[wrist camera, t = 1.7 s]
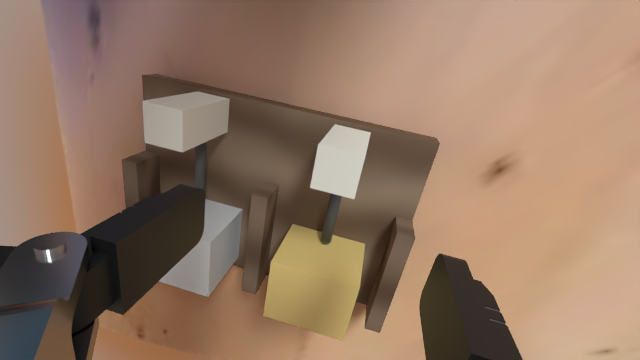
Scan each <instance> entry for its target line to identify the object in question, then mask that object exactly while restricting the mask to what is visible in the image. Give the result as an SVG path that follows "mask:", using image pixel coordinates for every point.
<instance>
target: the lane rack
mask: <svg viewBox="0 0 640 360" xmlns="http://www.w3.org/2000/svg"><path fill="white" fill-rule="evenodd" d="M142 80H143V99H144V100H150V99H156V98H162V97H168V96H174V95H180V94H186V93H192V92H202V93H207V94H211V95H215V96H220V97H224V98H228V99H230V101H229V118H228V132H227V133H225V134H222V135H220V136H218V137H216V138H214V139H211V140H209V141H207V156H206V186H205V199H207V200H211V201H215V202H218V203H222V204H225V205H229V206H233V207H236V208H240V209H243V211H242V222H241V233H240V244H239V255H238V258H237V260H236V261H235V262H234V264H233V265H236V266H239V267H243V268H244V274H243V283H242V290H243V291H246V292H249V293H253V294H256V292H257V291H258V289H259V287H260V285H261V283H262V282H263V280H264V278H265V276H266V275H269V272H270V265H271V261H272V259H273V257H274V255H275V254H276V252H277V250H278V248H279V247H280V245H281V243H282V242H283V240H284V238H285V236H286V235H287V233H288V231H289V229H290V228H291V226H292V224H295V225H299V226H302V227H306V228H310V229H313V230H317V231H321V232H322V231H323V227H324V222H325V218H326V213H327V209H328V204H329V200H330V195H331V193H328V192H324V191H320V190H316V189H312V188H310V185H311V180H312V174H313V169H314V164H315V158H316V153H317V148H318V144H319V143H320V142H321V141H322V139H323V138H324V137H325V136H326V134H327V133H328V132H329V131H330V130H331V128H332V127H333V126H334V125H335V124H336V125H341V126H345V127H349V128H354V129H358V130H362V131H367V132H371V134H370V139H369V143H368V148H367V152H366V156H365V160H364V164H363V168H362V172H361V176H360V179H359V183H358V187H357V191H356V195H355V199H351V198H347V197H343V196H342V198H341V202H340V206H339V210H338V215H337V219H336V223H335V227H334V231H333V235H335V236H339V237H342V238H346V239H350V240H353V241H357V242H360V243H364V244H365V250H364V258H363V267H362V275H361V283H360V289H359V292H358V295H357V299H356V302H359V303H362V304H366V305H367V307H366V319H365V328H366V329H369V330H372V331H375V332H378V333H380V331H381V328H382V325H383V323H384V320H385V317H386V315H387V312H388V309H389V307H390V304H391V301H392V299H393V296H394V293H395V291H396V288H397V285H398V283H399V280H400V277H401V275H402V272H403V269H404V267H405V264H406V261H407V259H408V256H409V253H410V251H411V248H412V245H413V243H414V240H415V235H414V229H413V222H412V219H413V217H414V214H415V211H416V208H417V205H418V203H419V200H420V197H421V194H422V192H423V189H424V186H425V183H426V180H427V178H428V175H429V172H430V169H431V166H432V164H433V161H434V158H435V155H436V153H437V150H438V147H439V144H440V143H439V142H438V140H437V138H434V137H429V136H425V135H420V134H416V133H412V132H407V131H403V130H398V129H394V128H390V127H385V126H381V125H377V124H372V123H368V122H363V121H359V120H355V119H350V118H346V117H341V116H337V115H333V114H328V113H324V112H320V111H315V110H311V109H306V108H302V107H298V106H293V105H289V104H284V103H280V102H276V101H271V100H267V99H263V98H258V97H254V96H249V95H245V94H241V93H236V92H232V91H227V90H223V89H219V88H214V87H210V86H206V85H201V84H197V83H192V82H188V81H184V80H179V79H175V78H170V77H166V76H162V75H157V74H153V75H142ZM122 166H123V178H124V189H125V201H126V209H127V208H128V207H130V206H131V207H133V205H134V204H136V203H137V202H139V201H141V200H143V199H145V198H147V197H150V196H154V195H157V194H161V193H165V192H166V191H168V190H170V189H172V188H173V187H175V186H177V185H179V184H186V185H189V186H193V187H194V177H195V147H194V148H191V149H189V150H187V151H185V152H179V151H175V150H171V149H167V148H163V147H160V146H156V145H152V144H148V143H146V151H144V152H141V153H138V154H136V155H133V156H130V157H128V158H125V159H122Z"/></svg>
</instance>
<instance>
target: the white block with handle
mask: <svg viewBox="0 0 640 360" xmlns="http://www.w3.org/2000/svg"><path fill="white" fill-rule="evenodd" d="M229 101H230V99H228V98H224V97H220V96H215V95H211V94H207V93H202V92H192V93H186V94H180V95H174V96H168V97H162V98H156V99H150V100H144V101H142V102H143V121H144V140H145V143H148V144H152V145H156V146H160V147H163V148H167V149H171V150H175V151H179V152H185V151H187V150H189V149H191V148H194V147H195V177H194V187H197V188H201V189H203V190H204V192H205V186H206V156H207V141H209V140H211V139H214V138H216V137H218V136H220V135H222V134H225V133H227V132H228V118H229ZM242 211H243V209H240V208H236V207H233V206H229V205H225V204H222V203H218V202H215V201H211V200H207V199H205V220H204V232H203V235H202V237H201V239H200V241H199V243H198V244H197V245H196V246H195V247H194V248H193V249H192V250H191V251H190V252H189V253H188V254H187V255H186V256H185V257H183V258H182V259H181V260H180V261H179V262H178V263H177V264H176V265H175V266H174V267H173V268H172V269H171V270H170V271H169V272H168V273H167V274H166V275H165V276H163V277H162V278H161V279H160V280H159V282H162V283H165V284H168V285H171V286H175V287H178V288H181V289H184V290H187V291H190V292H194V293H197V294H200V295H203V296H206V297H209V295H210V294H211V293H212V291H213V290H214V289H215V287H216V286H217V285H218V283H219V282H220V281H221V279H222V278H223V277H224V275H225V274H226V273H227V272H228V270H229V269H230V268H231V266H232V265H233V264H234V262H235V261H236V260H237V258H238V255H239V244H240V233H241V222H242Z"/></svg>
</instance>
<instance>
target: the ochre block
mask: <svg viewBox="0 0 640 360" xmlns="http://www.w3.org/2000/svg"><path fill="white" fill-rule="evenodd" d="M370 134H371V132H367V131H362V130H358V129H354V128H349V127H345V126H341V125H336V124H335V125H334V126H333V127H332V128H331V130H330V131H329V132H328V133H327V134H326V136H325V137H324V138H323V139H322V141H321V142H320V143H319V144H318V148H317V153H316V158H315V164H314V169H313V174H312V180H311V185H310V188H312V189H316V190H320V191H324V192H328V193H331V195H330V200H329V204H328V209H327V213H326V218H325V222H324V227H323V231H322V232H321V231H317V230H313V229H310V228H306V227H302V226H299V225H295V224H292V226H291V228H290V229H289V231H288V233H287V235H286V236H285V238H284V240H283V242H282V243H281V245H280V247H279V248H278V250H277V252H276V254H275V255H274V257H273V259H272V261H271V265H270V272H269V279H268V286H267V292H266V299H265V306H264V313H263V316H265V317H268V318H272V319H275V320H278V321H281V322H284V323H287V324H291V325H294V326H297V327H300V328H303V329H306V330H309V331H313V332H316V333H319V334H322V335H325V336H328V337H331V338H335V339H338V340H341V341H344V337H345V334H346V331H347V328H348V325H349V321H350V318H351V315H352V312H353V308H354V305H355V302H356V299H357V295H358V292H359V289H360V283H361V275H362V267H363V258H364V250H365V244H364V243H360V242H357V241H353V240H350V239H346V238H342V237H339V236H335V235H333V231H334V227H335V223H336V219H337V215H338V210H339V206H340V202H341V198H342V196H343V197H347V198H351V199H355V195H356V191H357V187H358V183H359V179H360V176H361V172H362V168H363V164H364V160H365V156H366V152H367V148H368V143H369V139H370Z"/></svg>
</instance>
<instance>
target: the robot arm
mask: <svg viewBox="0 0 640 360" xmlns="http://www.w3.org/2000/svg"><path fill="white" fill-rule="evenodd" d="M204 220H205V192H204V190H203V189H201V188H197V187H193V186H189V185H186V184H179V185H177V186H175V187H173V188H172V189H170V190H168V191H166V192H165V193H161V194H157V195H154V196H150V197H147V198H145V199H143V200H141V201H139V202H137V203H136V204H134V205H133V207H131V206H130V207H128V208H127V209H125V210H123V211H122V213H120V212H119V213H118V214H116V215H114V216H112V217H110V218H109V219H107V220H105V221H103V222H101V223H100V224H98V225H96V226H94V227H92V228H91V229H89V230H87V231H85V232H83V233H82V234H78V233H73V232H55V233H49V234H44V235H40V236H37V237H34V238H31V239H29V240H27V241H25V242H23V243H22V244H20V245H18V246H17V247H13V246H0V360H92V356H93V351H94V346H95V341H96V336H97V330H98V326H99V319H98V316H99V315H100V314H101V313H103V312H104V311H105V310H106V309H107V310H110V311H113V312H116V313H119V314H122V315H124V314H125V313H126V312H127V311H128V310H129V309H130V308H131V307H132V306H133V305H134V304H135V303H136V302H137V301H138V300H139V299H140V298H141V297H142V296H144V295H145V294H146V293H147V292H148V291H149V290H150V289H151V288H152V287H153V286H154V285H155V284H156V283H157V282H158V281H159V280H160V279H161V278H162V277H163V276H165V275H166V274H167V273H168V272H169V271H170V270H171V269H172V268H173V267H174V266H175V265H176V264H177V263H178V262H179V261H180V260H181V259H182V258H183V257H185V256H186V255H187V254H188V253H189V252H190V251H191V250H192V249H193V248H194V247H195V246H196V245H197V244H198V243H199V241H200V239H201V237H202V235H203V232H204ZM420 317H421V325H422V333H423V340H424V348H425V355H426V360H523V359H522V357H521V355H520V353H519V351H518V348H517V346H516V344H515V342H514V340H513V338H512V335H511V333H510V331H509V329H508V327H507V326H506V325H505V323H506V322H505V320H504V318H503V316H502V314H501V313H500V309H499V307H498V305H497V303H496V300H495V298H494V296H493V295H492V294H491V292H490V291H489V290H488V289H487V288H486V287H485V286H484V285H483V284H482V282H481V281H478V280H474V279H473V277H472V275H471V272H470V270H469V267H468V265H467V262H466V261H465V260H462V259H458V258H455V257H451V256H447V255H443V254H439V255H438V256H437V257H436V259H435V262H434V264H433V267H432V269H431V271H430V274H429V276H428V279H427V281H426V284H425V286H424V289H423V291H422V294H421V299H420Z"/></svg>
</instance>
